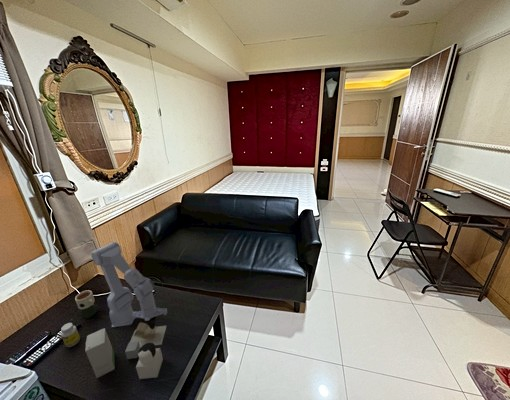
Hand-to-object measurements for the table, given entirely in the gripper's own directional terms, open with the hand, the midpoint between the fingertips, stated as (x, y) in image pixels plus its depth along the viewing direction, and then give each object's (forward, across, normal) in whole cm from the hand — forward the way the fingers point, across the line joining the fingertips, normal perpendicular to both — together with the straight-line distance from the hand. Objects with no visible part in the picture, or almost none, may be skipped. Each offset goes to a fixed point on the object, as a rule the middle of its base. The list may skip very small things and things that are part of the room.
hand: (153, 327), depth 99 cm
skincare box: (+6, -17, -10) cm, 21 cm away
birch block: (+4, 0, 0) cm, 4 cm away
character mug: (+6, -39, +20) cm, 44 cm away
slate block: (+6, -7, -8) cm, 12 cm away
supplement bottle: (+6, -38, +4) cm, 38 cm away
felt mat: (+6, -3, 0) cm, 7 cm away
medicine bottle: (+6, +3, -15) cm, 17 cm away
